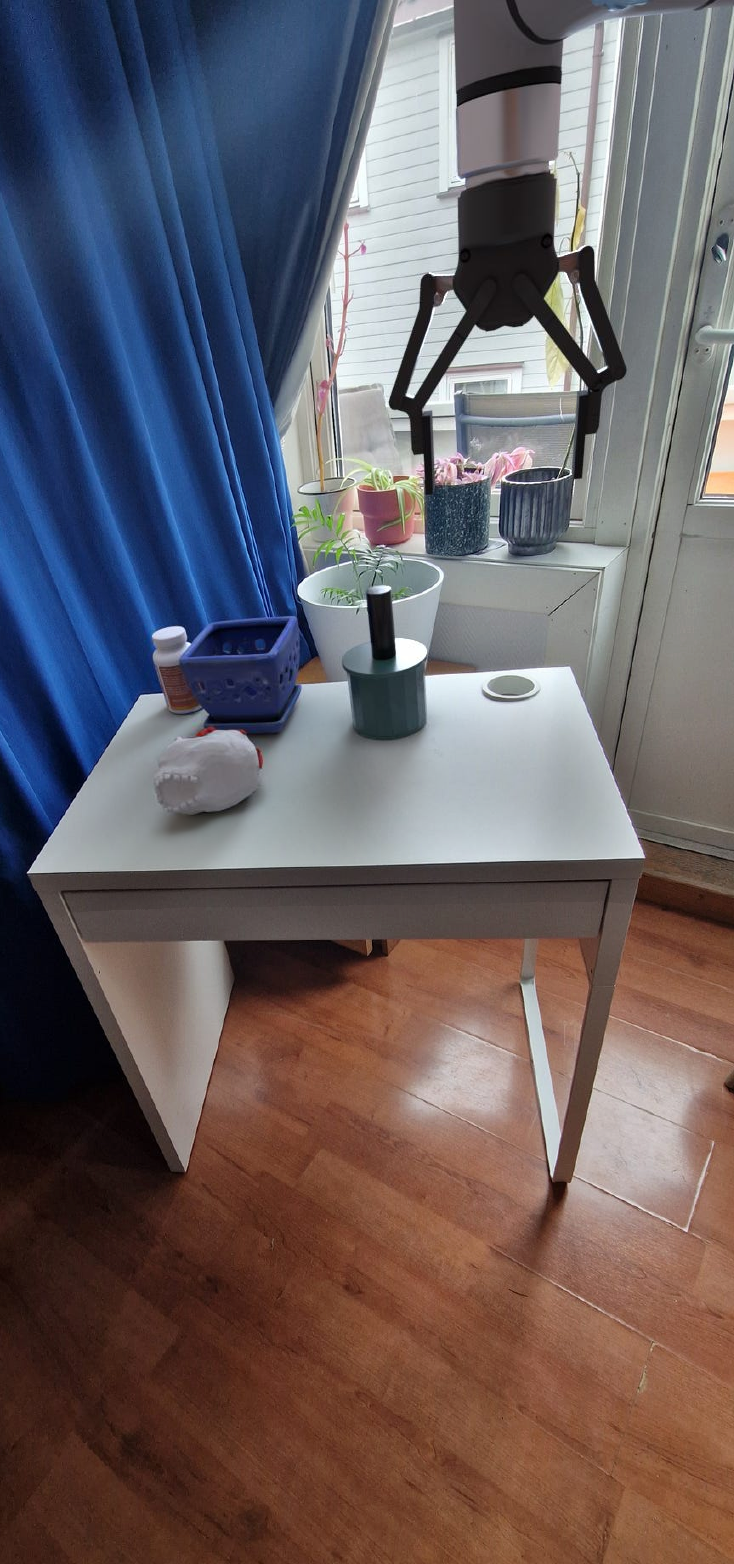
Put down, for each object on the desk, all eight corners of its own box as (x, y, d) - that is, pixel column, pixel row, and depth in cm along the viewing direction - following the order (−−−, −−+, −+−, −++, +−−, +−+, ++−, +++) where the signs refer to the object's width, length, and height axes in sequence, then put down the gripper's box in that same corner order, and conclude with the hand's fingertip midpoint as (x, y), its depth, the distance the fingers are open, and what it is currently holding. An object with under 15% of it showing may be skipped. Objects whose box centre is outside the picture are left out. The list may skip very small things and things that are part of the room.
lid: (430, 644, 94) (427, 571, 88) (423, 681, 86) (419, 603, 80) (350, 649, 96) (341, 577, 90) (336, 685, 88) (326, 609, 83)
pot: (429, 703, 99) (426, 642, 93) (423, 738, 91) (419, 675, 86) (359, 705, 101) (352, 646, 95) (348, 740, 94) (340, 678, 88)
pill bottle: (217, 701, 108) (199, 628, 101) (184, 719, 105) (163, 644, 98) (192, 692, 112) (173, 620, 105) (160, 709, 109) (137, 636, 102)
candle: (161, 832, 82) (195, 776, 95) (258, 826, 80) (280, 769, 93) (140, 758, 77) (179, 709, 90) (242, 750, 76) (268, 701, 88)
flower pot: (196, 743, 99) (173, 659, 91) (227, 698, 108) (208, 618, 101) (290, 742, 95) (273, 655, 88) (313, 695, 105) (300, 613, 97)
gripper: (673, 148, 56) (636, 459, 70) (355, 211, 62) (377, 488, 75) (691, 137, 51) (647, 478, 64) (340, 208, 56) (367, 507, 70)
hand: (501, 484), depth 70 cm, fingers open, 13 cm apart
